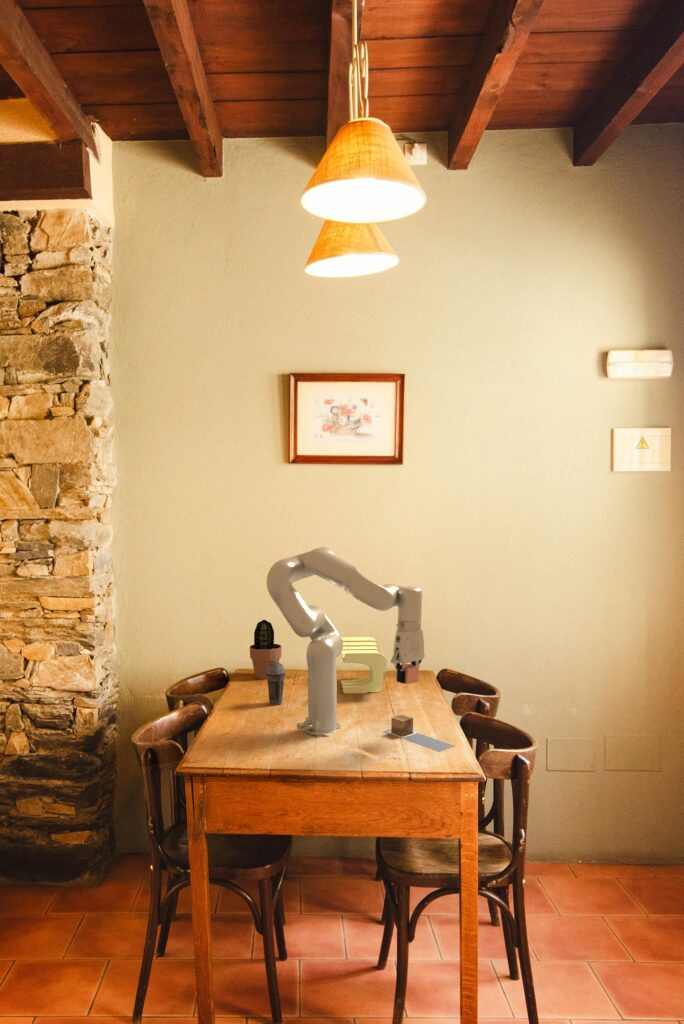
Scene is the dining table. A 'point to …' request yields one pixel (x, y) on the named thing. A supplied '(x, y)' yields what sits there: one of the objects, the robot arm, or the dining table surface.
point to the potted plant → (264, 649)
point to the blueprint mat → (424, 741)
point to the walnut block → (402, 725)
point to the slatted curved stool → (367, 654)
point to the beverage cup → (275, 682)
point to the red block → (410, 673)
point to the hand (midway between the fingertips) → (407, 680)
